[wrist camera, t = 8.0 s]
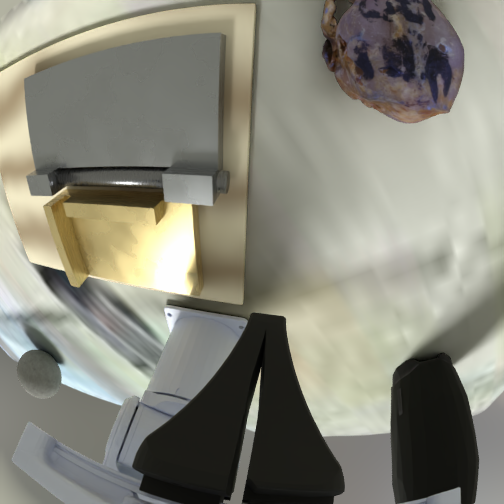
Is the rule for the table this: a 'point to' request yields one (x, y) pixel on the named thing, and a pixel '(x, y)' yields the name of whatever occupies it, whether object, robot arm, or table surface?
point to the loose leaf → (127, 238)
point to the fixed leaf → (133, 119)
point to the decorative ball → (39, 374)
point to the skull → (395, 56)
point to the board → (210, 217)
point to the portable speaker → (431, 432)
